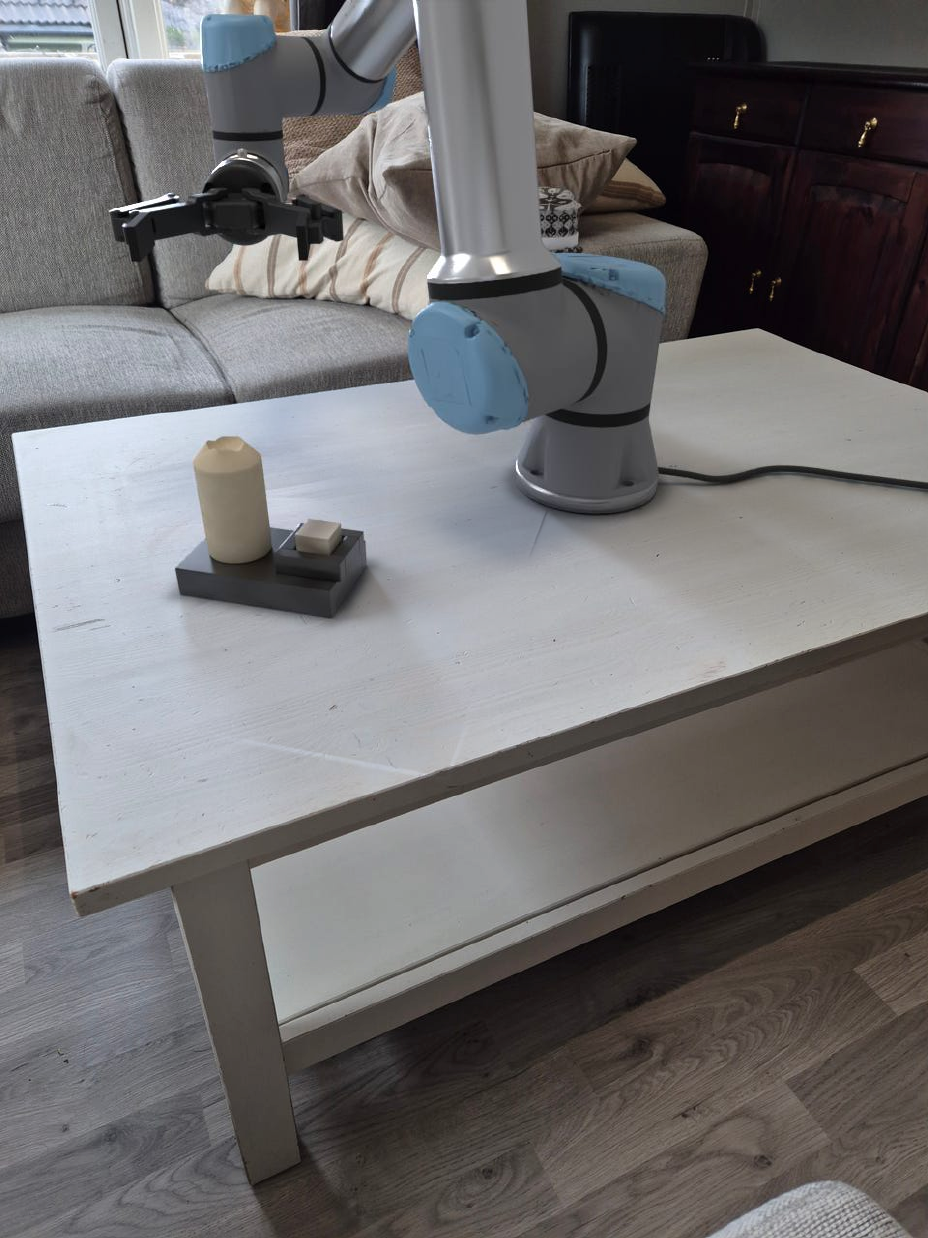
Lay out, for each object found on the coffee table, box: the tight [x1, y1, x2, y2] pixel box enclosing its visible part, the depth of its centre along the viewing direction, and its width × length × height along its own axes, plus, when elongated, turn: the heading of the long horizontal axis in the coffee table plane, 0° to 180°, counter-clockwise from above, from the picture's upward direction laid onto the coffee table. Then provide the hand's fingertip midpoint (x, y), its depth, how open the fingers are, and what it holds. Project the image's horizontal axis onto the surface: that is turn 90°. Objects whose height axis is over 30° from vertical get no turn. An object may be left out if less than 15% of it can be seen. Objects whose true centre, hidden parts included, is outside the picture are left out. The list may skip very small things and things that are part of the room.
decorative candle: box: [538, 186, 584, 254], centre depth 112 cm, size 9×9×25 cm
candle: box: [192, 435, 271, 563], centre depth 75 cm, size 6×6×10 cm
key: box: [295, 518, 342, 556], centre depth 75 cm, size 3×3×2 cm
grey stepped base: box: [174, 522, 368, 619], centre depth 78 cm, size 14×9×4 cm, turn 76°
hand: (218, 243), depth 73 cm, fingers open, 13 cm apart
